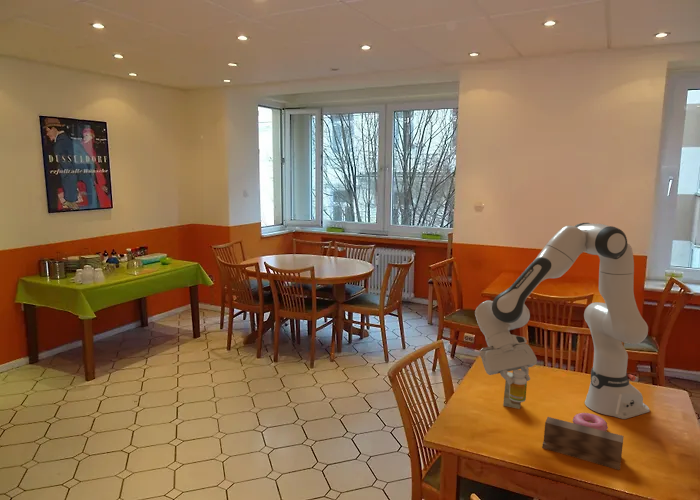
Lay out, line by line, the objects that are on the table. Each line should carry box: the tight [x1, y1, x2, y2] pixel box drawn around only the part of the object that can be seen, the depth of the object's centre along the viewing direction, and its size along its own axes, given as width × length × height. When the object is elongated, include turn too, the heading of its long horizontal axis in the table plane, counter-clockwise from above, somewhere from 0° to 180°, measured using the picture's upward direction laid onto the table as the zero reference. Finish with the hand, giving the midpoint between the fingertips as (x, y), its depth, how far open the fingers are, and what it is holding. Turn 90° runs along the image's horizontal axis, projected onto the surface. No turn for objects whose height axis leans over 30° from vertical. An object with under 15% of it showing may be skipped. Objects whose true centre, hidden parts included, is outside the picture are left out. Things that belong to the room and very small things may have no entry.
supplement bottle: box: [509, 369, 528, 403], centre depth 164 cm, size 5×5×10 cm
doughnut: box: [572, 412, 609, 432], centre depth 169 cm, size 11×11×4 cm
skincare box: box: [502, 371, 522, 410], centre depth 184 cm, size 6×4×12 cm
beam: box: [541, 416, 625, 471], centre depth 154 cm, size 22×8×8 cm, turn 59°
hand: (519, 382), depth 163 cm, fingers closed on supplement bottle, 5 cm apart
